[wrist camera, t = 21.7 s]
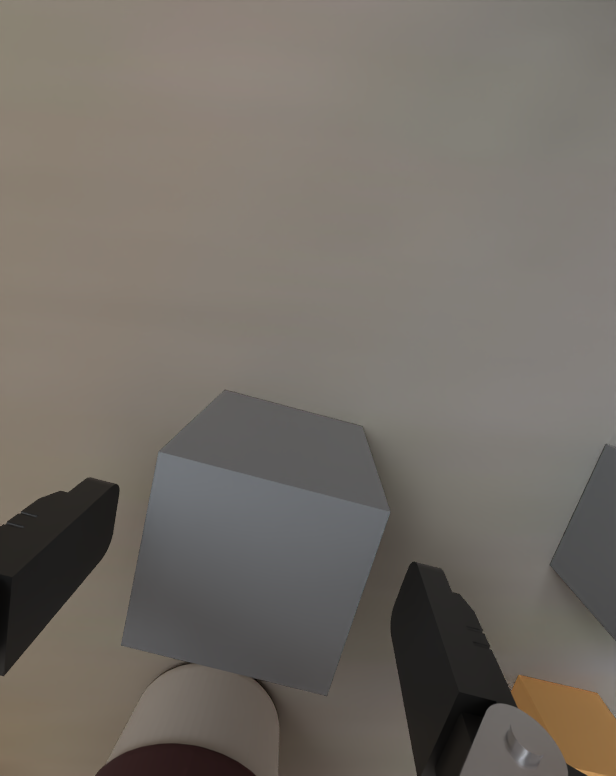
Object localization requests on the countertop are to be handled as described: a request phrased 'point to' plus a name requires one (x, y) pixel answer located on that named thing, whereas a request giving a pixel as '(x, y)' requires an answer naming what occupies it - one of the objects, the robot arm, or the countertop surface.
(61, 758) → the countertop surface
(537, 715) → the letter cube
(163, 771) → the coffee cup
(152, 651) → the plain grey cube
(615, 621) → the matte grey cube
